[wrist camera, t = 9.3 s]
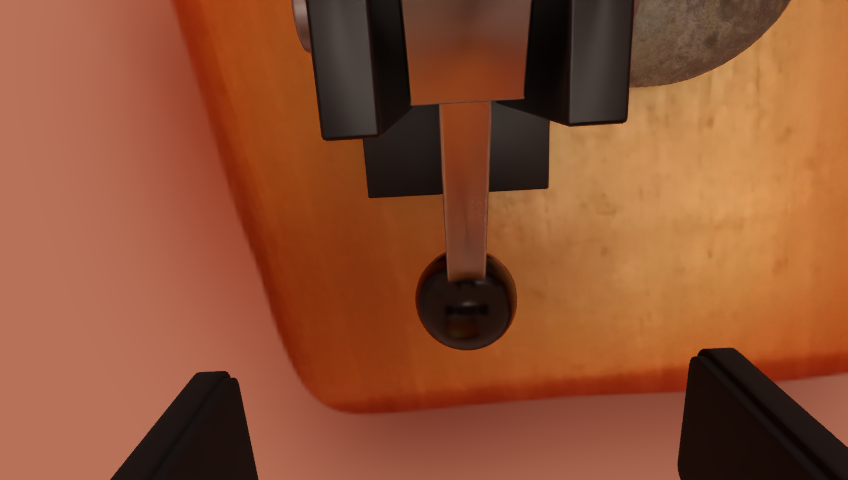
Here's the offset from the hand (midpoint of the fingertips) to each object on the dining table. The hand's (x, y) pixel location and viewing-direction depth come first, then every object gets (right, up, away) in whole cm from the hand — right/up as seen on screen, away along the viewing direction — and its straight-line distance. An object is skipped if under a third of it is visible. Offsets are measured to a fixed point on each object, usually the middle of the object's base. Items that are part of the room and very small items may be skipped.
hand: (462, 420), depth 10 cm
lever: (0, +6, +3) cm, 7 cm away
